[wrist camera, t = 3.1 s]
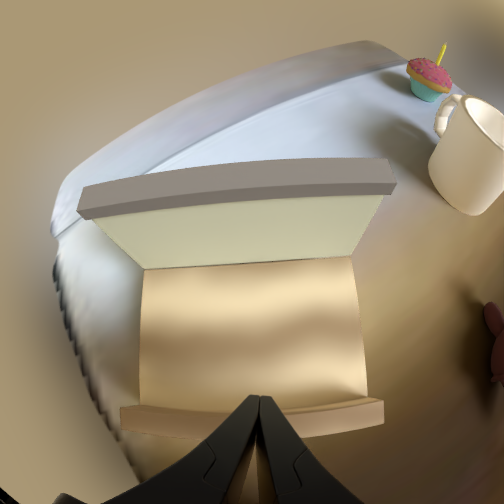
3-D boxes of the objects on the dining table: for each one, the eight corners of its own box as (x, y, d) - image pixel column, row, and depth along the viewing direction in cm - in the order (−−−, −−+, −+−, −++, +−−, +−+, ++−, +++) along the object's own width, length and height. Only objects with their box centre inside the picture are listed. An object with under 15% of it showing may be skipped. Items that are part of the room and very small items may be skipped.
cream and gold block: (352, 410, 19) (384, 423, 13) (161, 416, 20) (121, 429, 13) (339, 274, 24) (361, 238, 18) (162, 285, 25) (127, 254, 18)
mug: (402, 136, 31) (425, 73, 21) (450, 135, 31) (476, 83, 21) (453, 221, 25) (502, 163, 16) (497, 209, 25) (540, 162, 16)
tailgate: (353, 257, 20) (397, 183, 12) (141, 271, 21) (76, 211, 13) (349, 238, 21) (387, 158, 12) (143, 253, 22) (83, 187, 13)
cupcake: (416, 79, 38) (431, 29, 27) (450, 105, 34) (472, 55, 24) (392, 84, 36) (406, 27, 25) (430, 113, 33) (453, 55, 22)
